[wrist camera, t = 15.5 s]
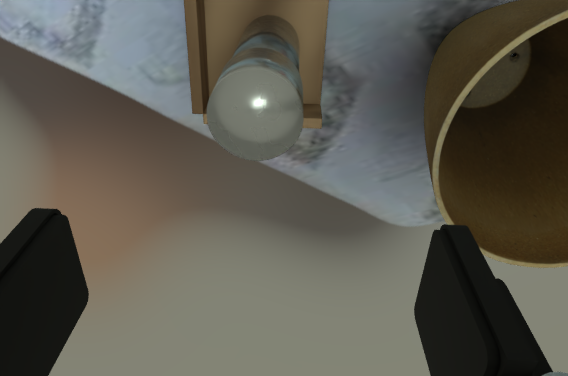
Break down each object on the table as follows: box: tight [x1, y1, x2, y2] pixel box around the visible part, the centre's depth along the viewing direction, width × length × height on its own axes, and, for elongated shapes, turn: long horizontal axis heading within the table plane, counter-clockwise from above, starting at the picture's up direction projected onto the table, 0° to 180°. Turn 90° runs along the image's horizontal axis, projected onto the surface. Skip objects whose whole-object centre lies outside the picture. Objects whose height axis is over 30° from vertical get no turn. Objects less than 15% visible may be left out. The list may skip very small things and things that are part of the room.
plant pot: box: [424, 0, 568, 268], centre depth 29 cm, size 15×15×16 cm
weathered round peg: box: [207, 15, 304, 161], centre depth 28 cm, size 5×5×14 cm
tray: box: [184, 0, 329, 129], centre depth 33 cm, size 10×11×4 cm
